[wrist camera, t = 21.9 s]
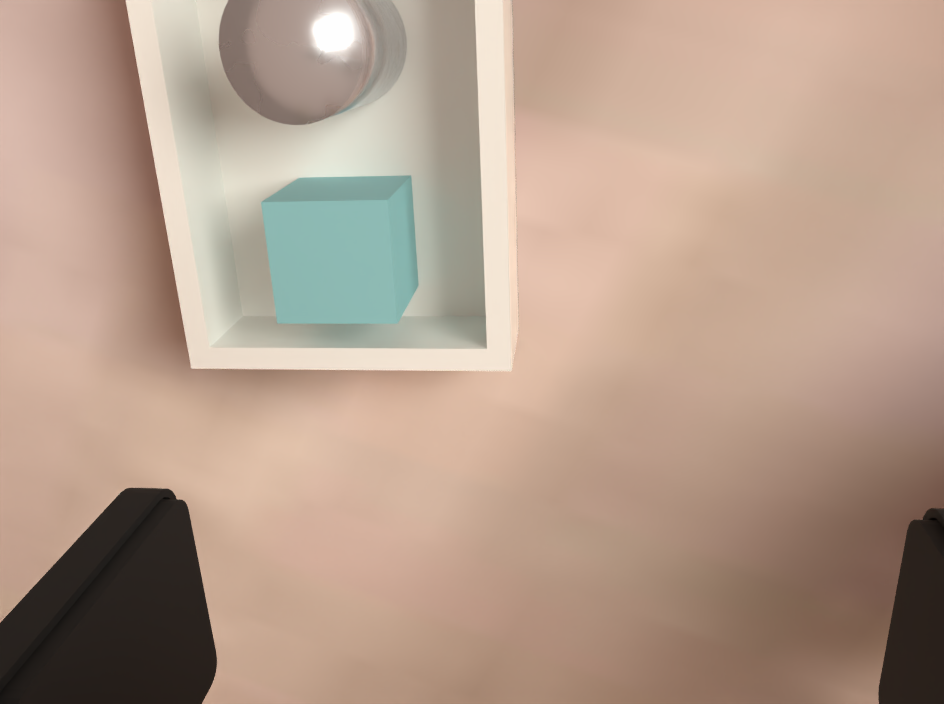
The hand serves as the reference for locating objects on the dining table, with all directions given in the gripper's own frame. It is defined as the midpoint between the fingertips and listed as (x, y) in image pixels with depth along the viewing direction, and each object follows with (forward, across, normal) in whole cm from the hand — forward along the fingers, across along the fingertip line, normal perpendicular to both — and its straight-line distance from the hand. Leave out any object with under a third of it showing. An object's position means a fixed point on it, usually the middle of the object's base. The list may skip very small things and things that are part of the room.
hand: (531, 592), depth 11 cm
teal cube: (+27, +9, +2) cm, 29 cm away
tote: (+28, +9, -2) cm, 30 cm away
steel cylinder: (+27, +9, -6) cm, 29 cm away
